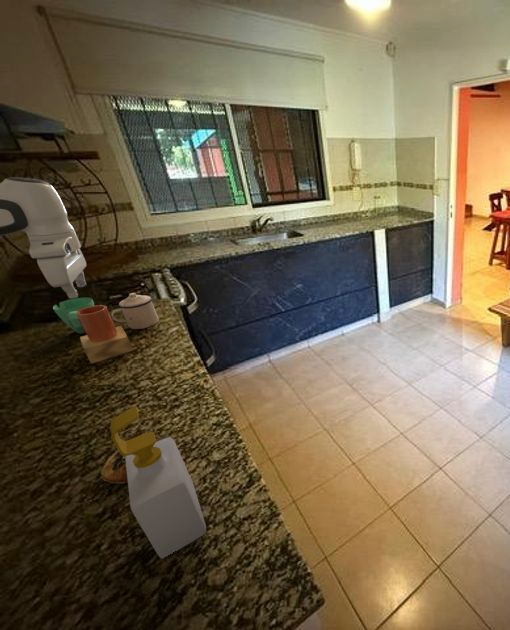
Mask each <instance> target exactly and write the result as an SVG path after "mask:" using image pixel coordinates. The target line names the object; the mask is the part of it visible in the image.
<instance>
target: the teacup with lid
mask: <svg viewBox="0 0 510 630" xmlns="http://www.w3.org/2000/svg"><path fill="white" fill-rule="evenodd" d="M118 307H119V308H117V309H114V310H112V311H111V315H110V316H111V318H112V320H114V321H115V322H117V323H120V324H121V323H127V325H128V326H127V327H128V328H129V329H130V330H131V329H132V330H141V329H142V330H143V329H148V328H151V327H152V326H155V325H156V324H158V323H159V321H160V318H159V316H158V314H157V311H156V308H155V306H154V303H153V299H152V297H151V296H150V295H141V294H137V293H136V292H131V293H129V294H128V296H127V297H126V298H125V299H123V300H121V301H120V302H119V303H118ZM119 312H122V314H123V317H124V318H125V319H119V318H117V317H116V316H115V314H116V313H119Z"/></svg>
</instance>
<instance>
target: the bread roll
mask: <svg viewBox="0 0 510 630" xmlns="http://www.w3.org/2000/svg"><path fill="white" fill-rule="evenodd" d="M155 438H156V442H158V441H161V440H163V439H164V437H161V436H159V435H156V434H155ZM125 458H126V456H122V455H121V454H120V453H119V451H118V449H117V450H116V451H115V452H114V453H113V454H112V455H111V456H110V457H109V458H108V459H107V460H106V462H105V464H104V466H103V467H102V469H101V472H100V474H101V477H102V480H103V481H104V482H108V483H110V484H115V485H117V484H118V485H119V484H120V485H121V484H122V485H123V484H128V479H127V470H126V460H125Z"/></svg>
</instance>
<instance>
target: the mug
mask: <svg viewBox="0 0 510 630" xmlns="http://www.w3.org/2000/svg"><path fill="white" fill-rule="evenodd" d="M90 306H95V302H94V300H93V298H91V297H77V298H70V299H67V300H64V301H60V302H59V303H58V305H57V304H54V305H53V306H52V309H53V311H54V313H55V314H56V315H57V316H58V317H59V318H60V319H61V320H62V322H64V323H65V324H66V325H67V326H68V327H69V328H70V329H72V331H74V332H76V333H77V334H83V333H84V334H86V333H85V331H84V329H83V327H82V325H81V323H80V321H79V319H78V317H77V315H76V312H77V311H79V310H81V309H83V308H86V307H90Z"/></svg>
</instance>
